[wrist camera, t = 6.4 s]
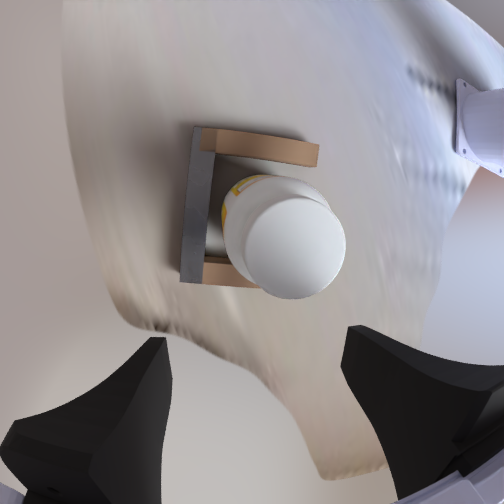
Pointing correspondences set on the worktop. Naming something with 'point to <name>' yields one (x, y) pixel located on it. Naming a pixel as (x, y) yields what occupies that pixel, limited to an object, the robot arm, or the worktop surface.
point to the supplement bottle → (282, 235)
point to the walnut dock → (199, 191)
